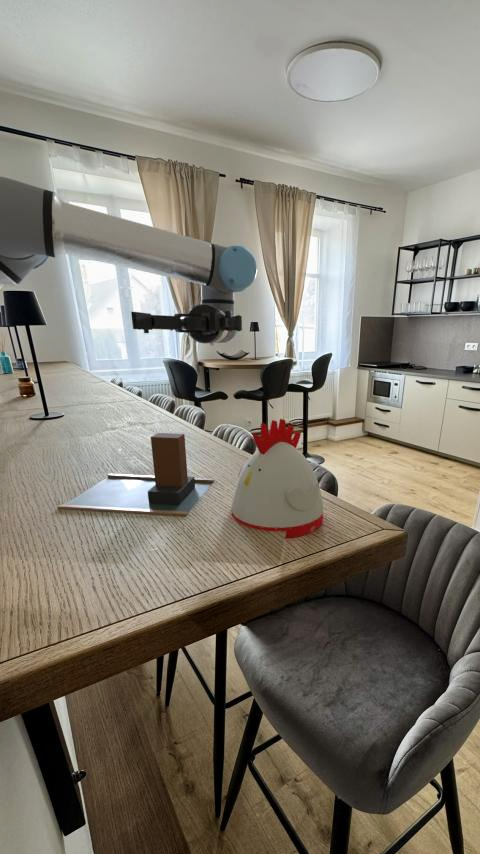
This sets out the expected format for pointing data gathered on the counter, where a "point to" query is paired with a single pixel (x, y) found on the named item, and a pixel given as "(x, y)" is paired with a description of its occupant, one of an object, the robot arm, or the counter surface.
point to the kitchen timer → (278, 486)
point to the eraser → (170, 470)
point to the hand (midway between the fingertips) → (173, 320)
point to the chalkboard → (133, 496)
